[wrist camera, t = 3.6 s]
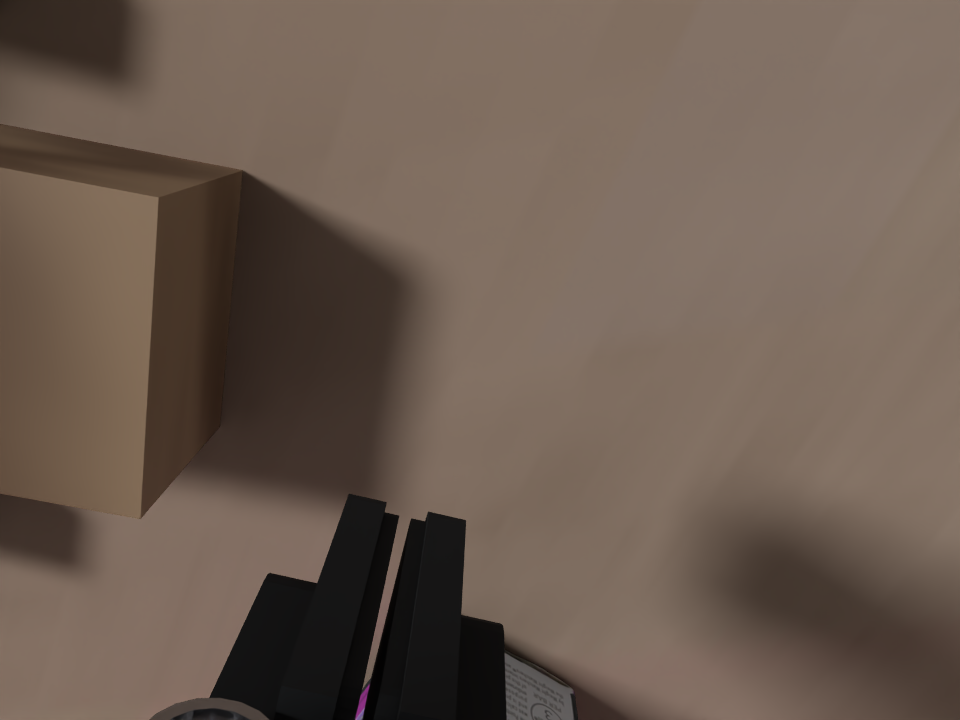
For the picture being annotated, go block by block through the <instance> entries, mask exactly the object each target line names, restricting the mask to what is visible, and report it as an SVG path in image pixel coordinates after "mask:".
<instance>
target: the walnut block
mask: <svg viewBox="0 0 960 720" xmlns="http://www.w3.org/2000/svg"><path fill="white" fill-rule="evenodd" d="M242 171H243V170H239V169H233V168H228V167H223V166H218V165H212V164H207V163H202V162H197V161H191V160H186V159H181V158H176V157H170V156H165V155H160V154H155V153H149V152H144V151H139V150H134V149H128V148H123V147H118V146H113V145H107V144H102V143H97V142H92V141H86V140H81V139H76V138H71V137H65V136H60V135H55V134H50V133H45V132H39V131H34V130H29V129H24V128H18V127H13V126H8V125H3V124H0V494H5V495H11V496H16V497H22V498H27V499H33V500H38V501H44V502H49V503H55V504H60V505H66V506H71V507H77V508H82V509H88V510H93V511H99V512H104V513H110V514H115V515H121V516H126V517H132V518H137V519H141V518H142V517H143V515H144V514H145V513H146V512H147V511H148V510H149V508H150V507H151V506H152V505H153V504H154V503H155V501H156V500H157V499H158V498H159V497H160V496H161V494H162V493H163V492H164V491H165V490H166V489H167V487H168V486H169V485H170V484H171V483H172V482H173V480H174V479H175V478H176V477H177V476H178V475H179V473H180V472H181V471H182V470H183V469H184V468H185V466H186V465H187V464H188V463H189V462H190V461H191V459H192V458H193V457H194V456H195V455H196V454H197V452H198V451H199V450H200V449H201V448H202V447H203V445H204V444H205V443H206V442H207V441H208V440H209V438H210V437H211V436H212V435H213V434H214V433H215V431H216V430H217V429H218V428H219V427H220V421H221V410H222V398H223V387H224V376H225V364H226V353H227V342H228V330H229V319H230V308H231V296H232V285H233V273H234V262H235V251H236V239H237V228H238V217H239V205H240V194H241V183H242Z"/></svg>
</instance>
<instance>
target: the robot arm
mask: <svg viewBox="0 0 960 720" xmlns="http://www.w3.org/2000/svg"><path fill="white" fill-rule="evenodd" d="M386 503H387V502H383V501H379V500H374V499H370V498H366V497H361V496H357V495H352V494H349V495H348V498H347V501H346V504H345V506H344V509H343V512H342V515H341V518H340V521H339V523H338V526H337V529H336V532H335V535H334V538H333V540H332V543H331V546H330V549H329V552H328V555H327V557H326V560H325V563H324V566H323V569H322V572H321V574H320V577H319V580H318V583H313V582H309V581H304V580H299V579H295V578H290V577H286V576H281V575H277V574H272V573H269V574H267V576H266V578H265V580H264V582H263V584H262V586H261V588H260V590H259V592H258V595H257V597H256V599H255V601H254V603H253V605H252V607H251V610H250V612H249V614H248V616H247V618H246V620H245V622H244V625H243V627H242V629H241V631H240V633H239V635H238V637H237V640H236V642H235V644H234V646H233V648H232V650H231V652H230V655H229V657H228V659H227V661H226V663H225V665H224V667H223V670H222V672H221V674H220V676H219V678H218V680H217V682H216V685H215V687H214V689H213V691H212V693H211V695H210V697H209V698H197V699H193V700H188V701H184V702H180V703H176V704H174V705H172V706H170V707H168V708H166V709H164V710H162V711H160V712H158V713H156V714H155V715H154V716H153V717H152V718H151V719H150V720H355V718H356V714H357V709H358V705H359V701H360V696H361V692H362V688H363V683H364V678H365V674H366V669H367V664H368V660H369V655H370V650H371V646H372V641H373V636H374V632H375V627H376V622H377V617H378V613H379V608H380V603H381V599H382V594H383V589H384V585H385V580H386V575H387V571H388V566H389V561H390V557H391V552H392V547H393V543H394V538H395V533H396V529H397V524H398V519H399V515H394V514H390V513H385V508H386ZM465 531H466V520H463V519H458V518H454V517H449V516H445V515H441V514H436V513H432V512H428V514H427V517H426V521H421V520H416V519H412V518H411V521H410V525H409V528H408V532H407V536H406V540H405V544H404V548H403V552H402V557H401V561H400V565H399V569H398V573H397V577H396V581H395V585H394V589H393V593H392V597H391V601H390V605H389V609H388V613H387V617H386V621H385V625H384V629H383V633H382V637H381V641H380V645H379V649H378V653H377V657H376V661H375V665H374V669H373V673H372V677H371V681H370V685H369V690H368V694H367V699H366V703H365V708H364V713H363V718H362V720H507V714H506V680H505V647H504V629H503V625H502V624H500V623H495V622H491V621H486V620H482V619H477V618H473V617H468V616H464V615H461V607H462V588H463V569H464V550H465Z"/></svg>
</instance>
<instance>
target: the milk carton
mask: <svg viewBox="0 0 960 720" xmlns="http://www.w3.org/2000/svg"><path fill="white" fill-rule="evenodd" d="M505 680H506V714H507V720H578V716H577V708H576V701H575V693H574V690H573V689H572V688H571V687H570V686H568V685H567V684H565V683H564V682H562V681H561V680H559V679H558V678H557V677H555V676H553V675H551V674H550V673H548V672H547V671H545V670H544V669H542V668H540V667H538V666H536V665H535V664H533V663H531V662H528V661H526V660H524V659H522V658H520V657H518V656H516V655H514V654H512V653H510V652H508V651H506V650H505ZM370 681H371V679H370V680H369V681H368V683H367V684H366V685H365V687H364V688H363V690H362V692H361V696H360V701H359V705H358V709H357V714H356V718H355V720H362V718H363V713H364V708H365V703H366V699H367V694H368V690H369V685H370Z"/></svg>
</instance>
